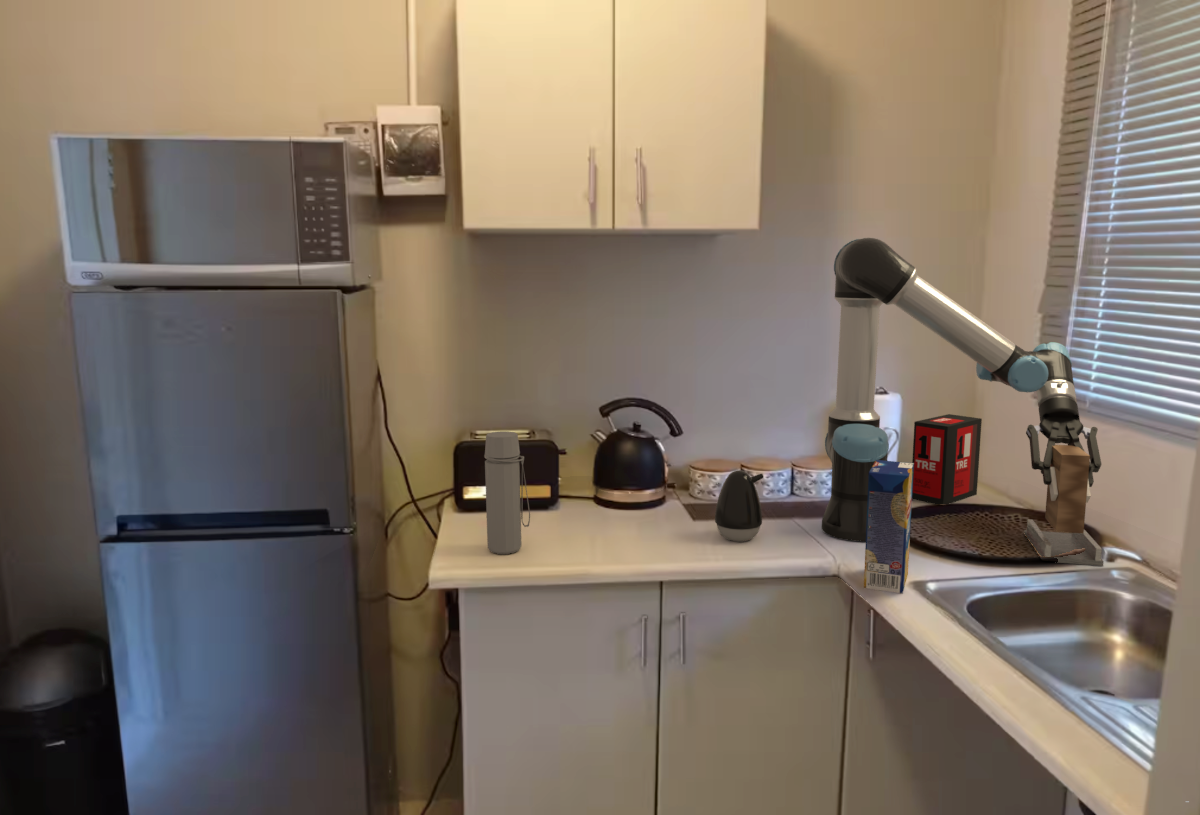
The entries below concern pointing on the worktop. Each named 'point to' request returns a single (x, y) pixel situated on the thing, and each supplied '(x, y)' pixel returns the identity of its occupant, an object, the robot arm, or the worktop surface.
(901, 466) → the beverage box
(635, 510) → the worktop surface
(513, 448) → the water bottle
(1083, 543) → the floor track
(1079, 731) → the worktop surface
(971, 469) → the cleaning product box
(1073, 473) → the brown wooden block
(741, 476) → the pump dispenser
